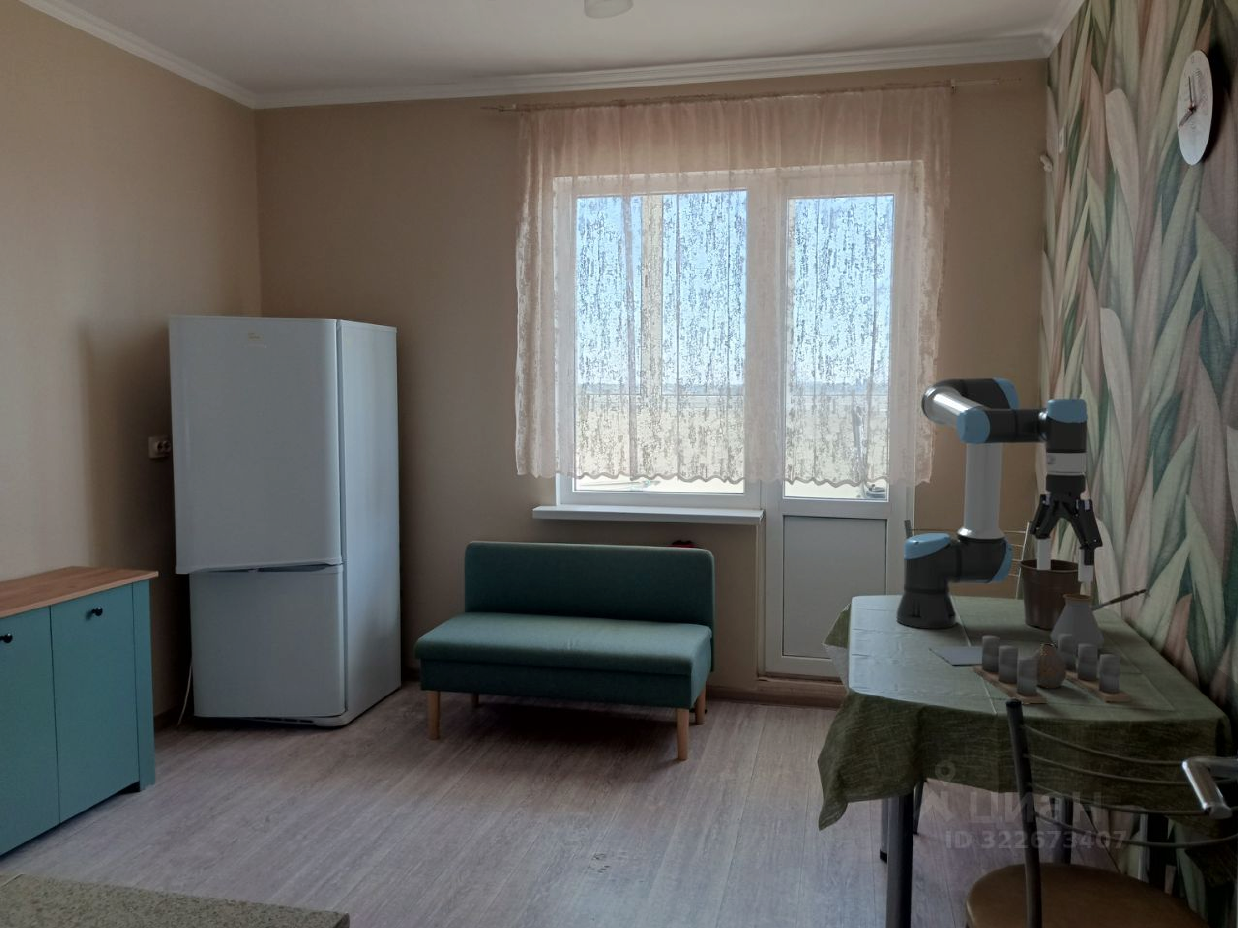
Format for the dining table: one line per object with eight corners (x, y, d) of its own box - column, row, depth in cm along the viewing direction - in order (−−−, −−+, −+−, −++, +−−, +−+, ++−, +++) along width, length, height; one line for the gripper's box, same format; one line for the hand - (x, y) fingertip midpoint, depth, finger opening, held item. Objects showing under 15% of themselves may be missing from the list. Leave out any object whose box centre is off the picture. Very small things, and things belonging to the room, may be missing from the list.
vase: (1070, 684, 195) (1071, 643, 194) (1059, 693, 190) (1060, 650, 189) (1036, 678, 199) (1037, 638, 199) (1024, 686, 194) (1025, 644, 194)
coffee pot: (1058, 655, 216) (1060, 592, 214) (1043, 642, 227) (1045, 582, 226) (1157, 658, 212) (1159, 594, 211) (1137, 645, 224) (1139, 583, 222)
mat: (928, 648, 223) (928, 646, 223) (985, 647, 223) (985, 645, 223) (952, 665, 209) (952, 664, 209) (1013, 664, 209) (1013, 662, 209)
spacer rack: (973, 670, 205) (973, 634, 204) (1070, 668, 206) (1071, 631, 205) (1021, 704, 183) (1022, 663, 182) (1129, 701, 184) (1131, 660, 183)
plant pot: (1097, 632, 235) (1098, 569, 234) (1032, 633, 236) (1034, 570, 234) (1067, 617, 251) (1069, 558, 250) (1007, 617, 252) (1008, 558, 250)
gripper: (1013, 469, 204) (1012, 565, 205) (1089, 478, 179) (1087, 587, 180) (1044, 469, 205) (1043, 564, 206) (1124, 477, 180) (1121, 585, 182)
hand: (1063, 575), depth 193 cm, fingers open, 13 cm apart
